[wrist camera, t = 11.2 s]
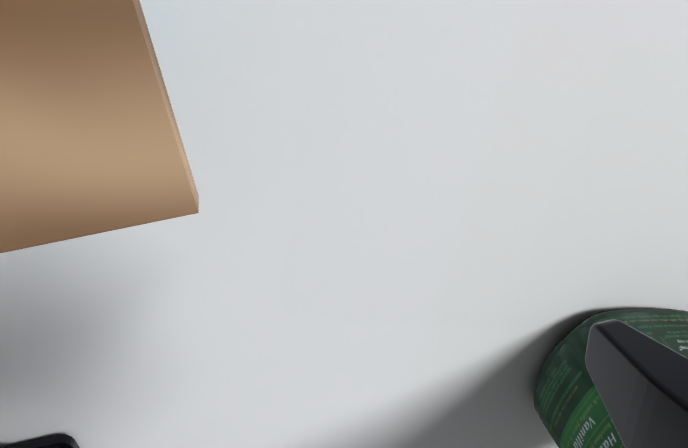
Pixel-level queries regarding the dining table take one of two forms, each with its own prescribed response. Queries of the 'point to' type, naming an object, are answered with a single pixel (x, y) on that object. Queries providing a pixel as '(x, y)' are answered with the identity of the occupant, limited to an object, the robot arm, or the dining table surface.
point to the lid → (84, 124)
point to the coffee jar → (578, 387)
